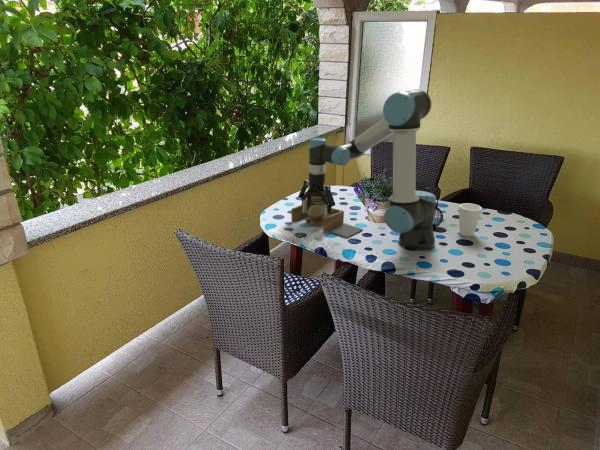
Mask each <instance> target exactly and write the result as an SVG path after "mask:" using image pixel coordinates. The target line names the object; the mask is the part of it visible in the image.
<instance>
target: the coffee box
mask: <svg viewBox="0 0 600 450" xmlns="http://www.w3.org/2000/svg"><path fill="white" fill-rule="evenodd" d="M306 192H307V191H306ZM321 192H323V191H321ZM325 193H326V192H325ZM325 196H326V194H325ZM306 199H307V213H306V218H305V219H306V221H305V226H306V227H316V228H317V227H320V228H323V219H324V218H325V207H326V204H325V202H324V200H323V199H322V197H321V195H319V193H316V192H313V191H310V192H309V191H308V192H307V198H306Z"/></svg>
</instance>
